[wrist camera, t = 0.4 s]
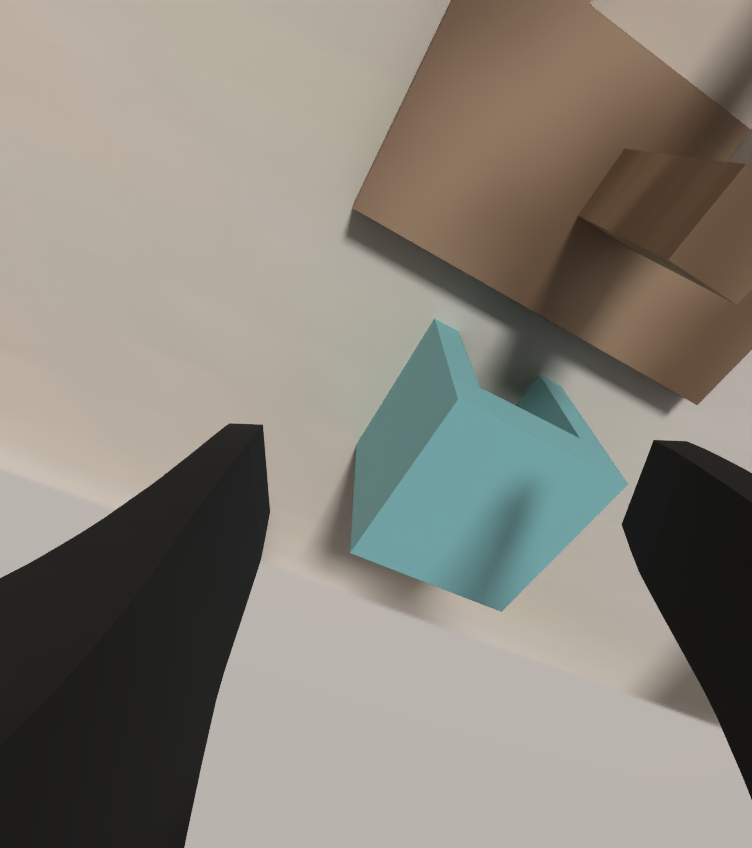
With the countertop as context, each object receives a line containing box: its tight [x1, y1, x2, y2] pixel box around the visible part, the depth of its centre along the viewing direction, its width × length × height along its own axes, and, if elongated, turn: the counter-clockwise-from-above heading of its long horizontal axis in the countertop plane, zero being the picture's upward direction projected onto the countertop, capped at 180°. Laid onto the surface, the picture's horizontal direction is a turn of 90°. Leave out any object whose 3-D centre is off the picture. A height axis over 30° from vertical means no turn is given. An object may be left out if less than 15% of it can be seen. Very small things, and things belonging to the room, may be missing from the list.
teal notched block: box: [350, 319, 628, 612], centre depth 17 cm, size 6×6×6 cm
